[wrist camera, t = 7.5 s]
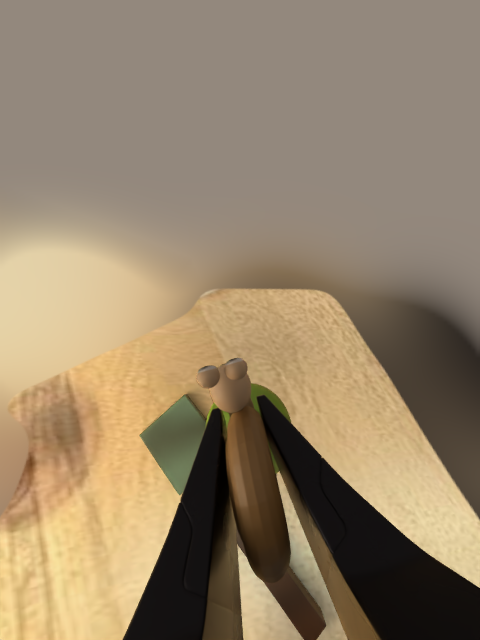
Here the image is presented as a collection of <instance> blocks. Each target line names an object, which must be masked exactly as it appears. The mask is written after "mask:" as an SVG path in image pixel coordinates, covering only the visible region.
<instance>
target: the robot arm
mask: <svg viewBox="0 0 480 640" xmlns="http://www.w3.org/2000/svg"><path fill="white" fill-rule="evenodd" d="M257 403H258V407H259V411H260V415H261V417H262V420H263V423H264V427H265V432H266V436H267V439H268V443H269V446H270V448H271V451H272V454H273V456H274V459H275V461H276V463H277V466H278V468H279V471H280V473H281V476H282V478H283V481H284V483H285V486H286V488H287V491H288V493H289V496H290V498H291V500H292V503H293V505H294V508H295V510H296V513H297V515H298V518H299V520H300V523H301V525H302V528H303V530H304V533H305V535H306V538H307V540H308V542H309V545H310V547H311V550H312V552H313V555H314V557H315V560H316V562H317V565H318V567H319V570H320V572H321V575H322V577H323V579H324V582H325V584H326V587H327V589H328V592H329V594H330V597H331V599H332V602H333V604H334V607H335V609H336V612H337V614H338V617H339V619H340V622H341V624H342V626H343V629H344V631H345V634H346V636H347V639H348V640H480V588H479V587H477V586H476V585H474V584H473V583H471V582H470V581H468V580H467V579H465V578H464V577H462V576H460V575H459V574H457V573H456V572H454V571H453V570H451V569H450V568H448V567H447V566H445V565H444V564H442V563H441V562H439V561H438V560H436V559H435V558H433V557H432V556H430V555H429V554H427V553H426V552H425V551H423V550H422V549H421V548H419V547H418V546H417V545H416V544H414V543H413V542H412V541H411V540H410V539H408V538H407V537H406V536H405V535H404V534H403V533H401V532H400V531H399V530H398V529H397V528H396V527H395V526H394V525H393V524H391V523H390V522H389V521H388V520H387V519H386V518H385V517H384V516H383V515H381V514H380V513H379V512H378V511H377V510H376V509H375V508H374V507H373V506H372V505H370V504H369V503H368V502H367V501H366V500H365V499H364V498H363V497H362V496H360V495H359V494H358V493H357V492H356V491H355V490H354V489H353V488H352V487H351V486H350V485H349V484H348V483H347V482H346V481H345V480H344V479H343V478H342V477H341V476H340V475H339V474H338V473H337V472H336V471H335V470H334V469H333V468H332V467H331V466H330V465H329V464H328V463H327V462H326V460H325V459H324V458H322V457H321V455H320V454H319V453H318V452H317V451H316V450H315V449H314V448H313V446H312V445H311V444H310V443H309V442H308V441H307V440H306V439H305V438H304V437H303V436H302V435H301V433H300V432H299V431H298V430H297V429H296V428H295V427H294V426H293V425H292V424H291V423H290V421H289V420H288V419H287V418H286V417H285V416H284V415H283V414H282V413H281V412H280V411H279V409H278V408H277V407H276V406H275V405H274V404H273V403H272V402H271V401H270V400H269V399H268V398H267V396H266V395H260V396H257ZM226 440H227V425H226V420H225V417H224V414H223V411H222V410H221V409H220V408H215V409H212V411H211V414H210V416H209V419H208V422H207V425H206V428H205V431H204V434H203V437H202V439H201V442H200V445H199V448H198V451H197V454H196V457H195V460H194V462H193V465H192V468H191V471H190V474H189V477H188V480H187V483H186V485H185V488H184V491H183V494H182V497H181V500H180V501H181V502H180V503H179V505H178V508H177V511H176V514H175V517H174V519H173V522H172V525H171V528H170V530H169V533H168V536H167V538H166V541H165V543H164V545H163V548H162V550H161V553H160V555H159V558H158V560H157V562H156V565H155V567H154V569H153V572H152V574H151V576H150V578H149V581H148V583H147V585H146V588H145V590H144V592H143V595H142V597H141V599H140V602H139V604H138V606H137V609H136V611H135V613H134V615H133V618H132V620H131V622H130V625H129V627H128V629H127V631H126V634H125V636H124V638H123V640H243V628H242V616H241V597H240V581H239V565H238V549H237V532H236V522H235V518H234V514H233V509H232V503H231V498H230V492H229V485H228V478H227V469H226V452H225V448H226Z"/></svg>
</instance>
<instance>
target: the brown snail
mask: <svg viewBox="0 0 480 640" xmlns="http://www.w3.org/2000/svg"><path fill="white" fill-rule="evenodd" d="M247 369H248V368H247V364H246V362H245V361H244V360H243V359H241V358H234V359H231V360H229V361H228V362H227V363H226V364H222V365H221V366H219V367H218V368H216V367H215V366H205V367H203V368H201V369H200V370H199V371H198V372H197V375H196V379H197V382H198V384H199V385H200V386H201V387H203V388H209V391H210V395H211V398H212V400H213V402H214V403H213V405H212V407H211V409H210V411H209V413H208V416H207V420H206V425H207V422H208V419H209V416H210V414H211V411H212V409H215V408H220V409H221V410H222V411H223V414H224V417H225V420H226V425H227V440H226V448H225V452H226V469H227V478H228V485H229V492H230V498H231V503H232V509H233V514H234V518H235V522H236V526H237V530H238V533H239V536H240V538H241V540H242V542H243V545H244V549H245V552H246V555H247V559H248V562H249V564H250V566H251V568H252V569H253V571H254V573H255V574H256V576H257V577H258V578H260V579H261V580H263V581H264V582H266V583H276V582H278V581H279V580H280V579H281V578H283V577H284V575H285V573H286V571H287V569H288V567H289V563H290V555H291V549H290V540H289V534H288V528H287V523H286V518H285V513H284V508H283V504H282V499H281V495H280V491H279V487H278V482H277V478H276V473H278V472H279V468H278V466H277V463H276V461H275V459H274V456H273V454H272V451H271V448H270V446H269V443H268V439H267V436H266V432H265V427H264V423H263V420H262V417H261V415H260V411H259V407H258V403H257V396H260V395H266V396H267V398H268V399H269V400H270V401H271V402H272V403H273V404H274V405H275V406H276V407H277V408H278V409H279V411H280V412H281V413H282V414H283V415H284V416H285V417H286V418H287V419H288V420H289V421H290V423H291V420H290V416H289V414H288V411H287V409H286V407H285V406H284V404H283V402H282V401H281V400H280V399H279V397H278V396H277V395H276V394H274V393H273V392H272V391H270V390H269V389H267V388H265V387H263V386H261V385H257V384H252V383H251V382H250V379H249V377H248V375H247ZM205 428H206V427H205Z"/></svg>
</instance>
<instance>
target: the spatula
mask: <svg viewBox="0 0 480 640" xmlns="http://www.w3.org/2000/svg"><path fill="white" fill-rule="evenodd" d="M205 427H206V419H205V418H204V417H203V415H202V414H201V413H200V411H199V410H198V409H197V408H196V406H195V405H194V404H193V402H192V401H191V400H190V398H189V397H188V396H187V395H184V396H183V397H181V398H180V399H179V400H178V401H177V402H176V403H175V404H174V405H173V406H171V407H170V408H169V409H168V410H167V411H166V412H165V413H164V414H163V415H161V416H160V417H159V418H158V419H157V420H156V421H155V422H154V423H153V424H151V425H150V426H149V427H148V428H147V429H146V430H145V431H144V432H142V433H141V434H140V437H141V439H142V440H143V442H144V443H145V445H146V446H147V448H148V449H149V451H150V452H151V454H152V455H153V457H154V458H155V460H156V461H157V463H158V464H159V466H160V467H161V469H162V470H163V472H164V473H165V475H166V476H167V478H168V479H169V481H170V482H171V484H172V485H173V487H174V488H175V490H176V491H177V493H178V494H179V495H181V494H182V493H183V491H184V488H185V485H186V483H187V480H188V477H189V474H190V471H191V468H192V465H193V462H194V460H195V457H196V454H197V451H198V448H199V445H200V442H201V439H202V437H203V434H204V431H205ZM236 532H237V544H238V546H239V547H240V548H241V550H242V551H243V553H244V554H245V556H246V557H247V555H246V552H245V549H244V545H243V542H242V540H241V538H240V536H239V533H238V530H237V526H236ZM264 583H265V584H266V586H267V587H268V589H269V590H270V591H271V593H272V594H273V596H274V597H275V599H276V600H277V601H278V603H279V604H280V606H281V607H282V609H283V610H284V612H285V613H286V614H287V616H288V617H289V619H290V620H291V622H292V623H293V624H294V626H295V627H296V629H297V630H298V632H299V633H300V634H301V636H302V637H303V639H304V640H316V639H317V638H318V637H319V635H320V634H321V632H322V631H323V630H324V628H325V627H326V623H325V620H324V617H323V614H322V611H321V609H320V607H319V606H318V604H317V603H316V602H315V600H314V599H313V598H312V596H311V595H310V594H309V592H308V591H307V590H306V588H305V587H304V585H303V584H302V583H301V581H300V580H299V579H298V577H297V576H296V575H295V573H294V572H293V571H292V569H291V568H290V566H289V567H288V569H287V571H286V573H285V575H284V577H283V578H281V579H280V580H279V581H278V582H276V583H266V582H264Z"/></svg>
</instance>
